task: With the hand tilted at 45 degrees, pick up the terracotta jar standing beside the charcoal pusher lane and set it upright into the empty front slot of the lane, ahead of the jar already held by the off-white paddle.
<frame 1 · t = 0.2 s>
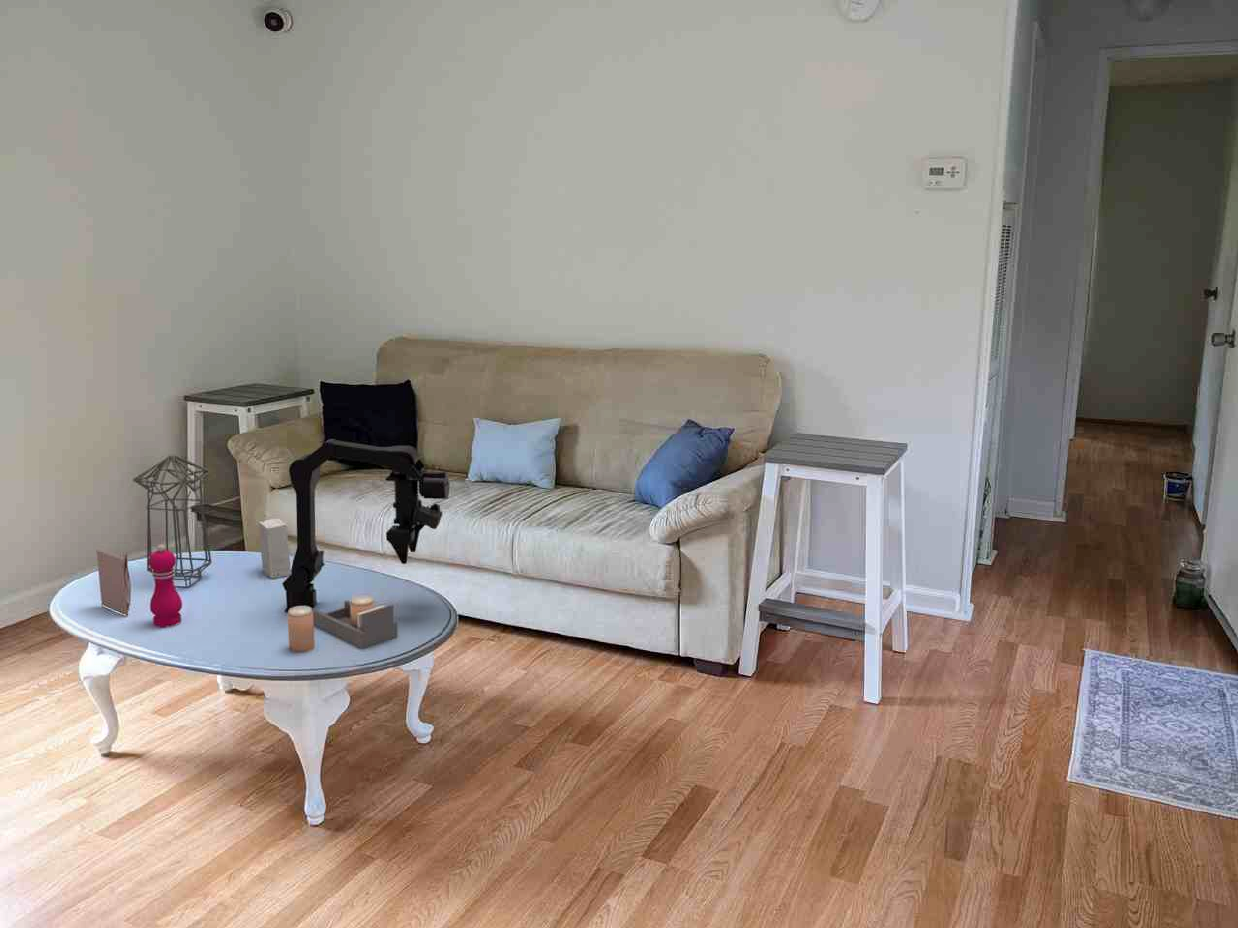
hand: (408, 557, 266), 15 cm above the table, tool pointing down, fingers open, 9 cm apart
skincare box: (276, 574, 295), on the table
brown paper bag: (116, 610, 267), on the table
geometric lantern: (182, 581, 288), on the table
terracotta jar: (302, 650, 246), on the table
pepper mill: (167, 623, 260), on the table
jar in lane: (363, 634, 253), point 1 cm above the table, touching lane
lane: (355, 633, 255), on the table
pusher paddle: (373, 624, 249), point 5 cm above the table, slide at 0.0 cm
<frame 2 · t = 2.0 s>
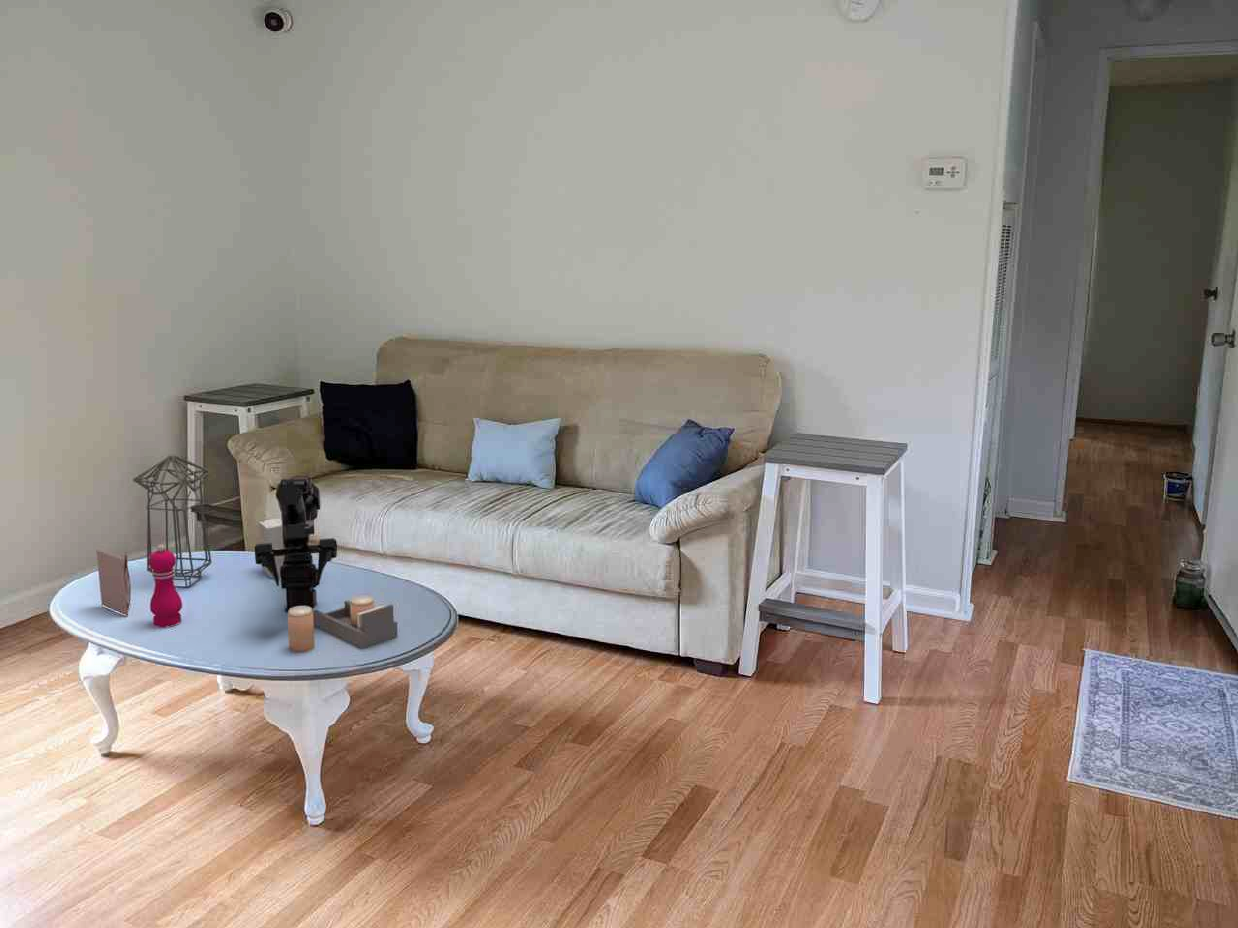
hand: (298, 583, 250), 13 cm above the table, tool tilted 45°, fingers open, 9 cm apart
nothing on the table moved.
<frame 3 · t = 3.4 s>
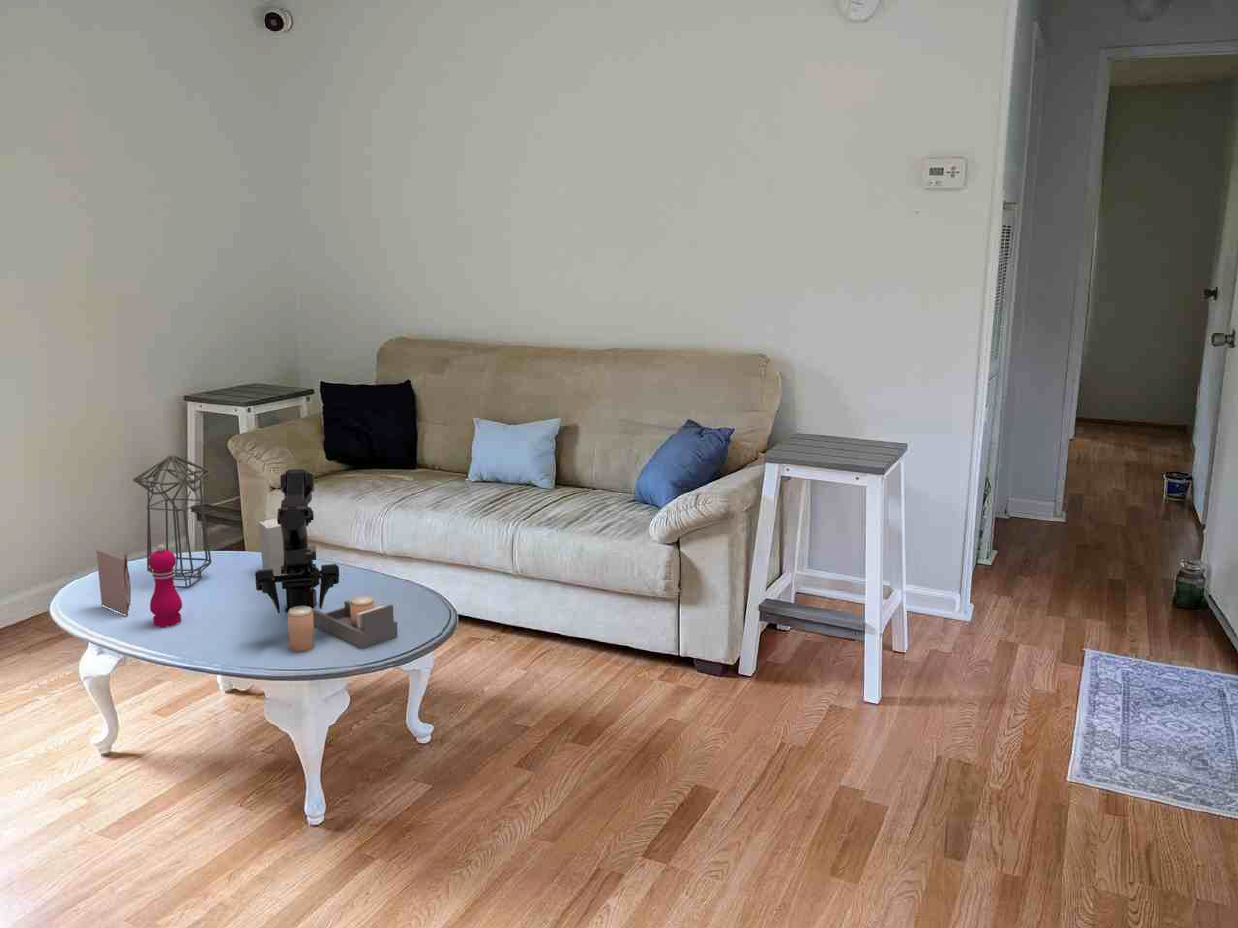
hand: (299, 610, 245), 9 cm above the table, tool tilted 45°, fingers open, 9 cm apart
nothing on the table moved.
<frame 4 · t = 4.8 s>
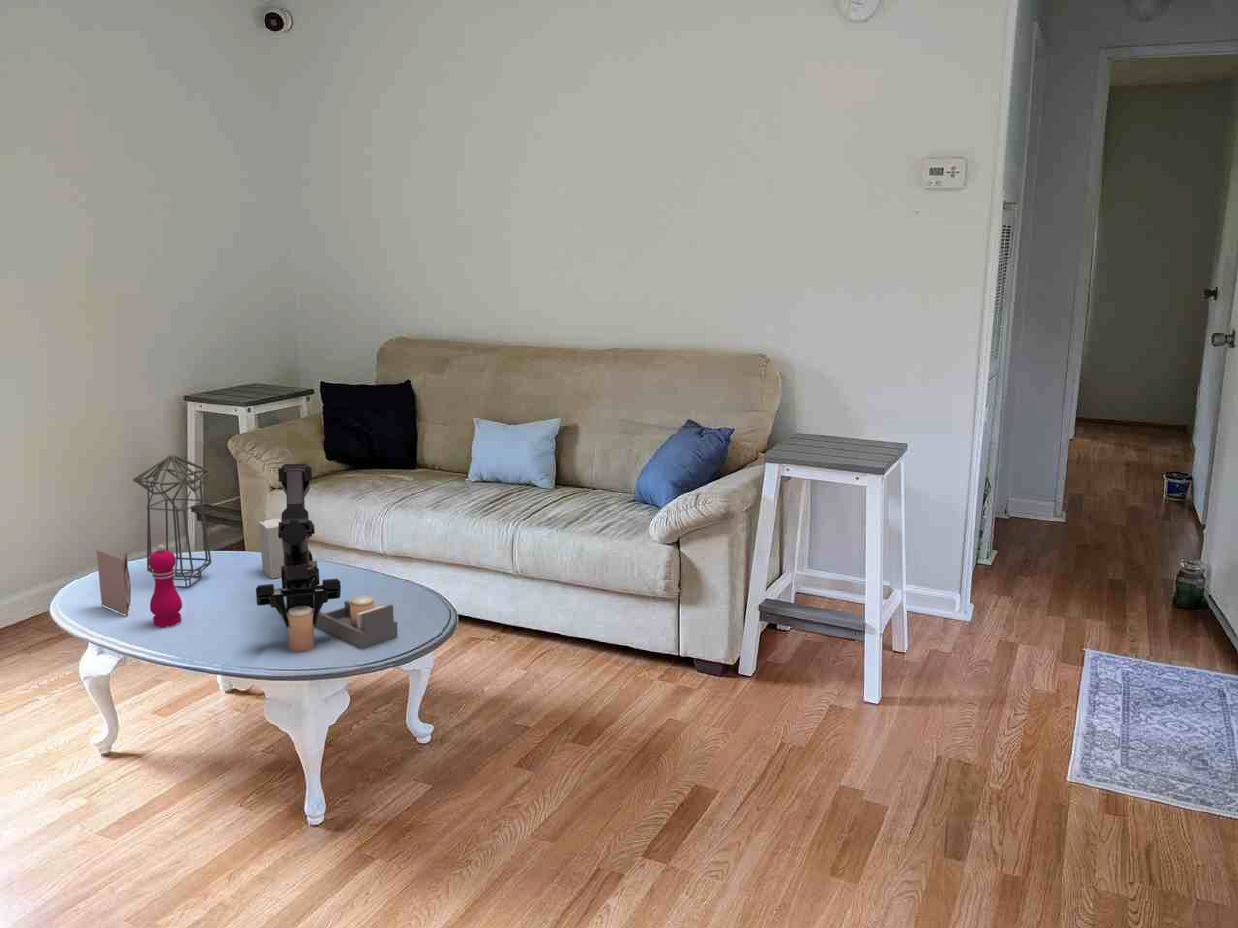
hand: (301, 625, 243), 7 cm above the table, tool tilted 45°, fingers closed on terracotta jar, 6 cm apart
terracotta jar: (302, 650, 246), on the table, touching gripper
everything else where it was.
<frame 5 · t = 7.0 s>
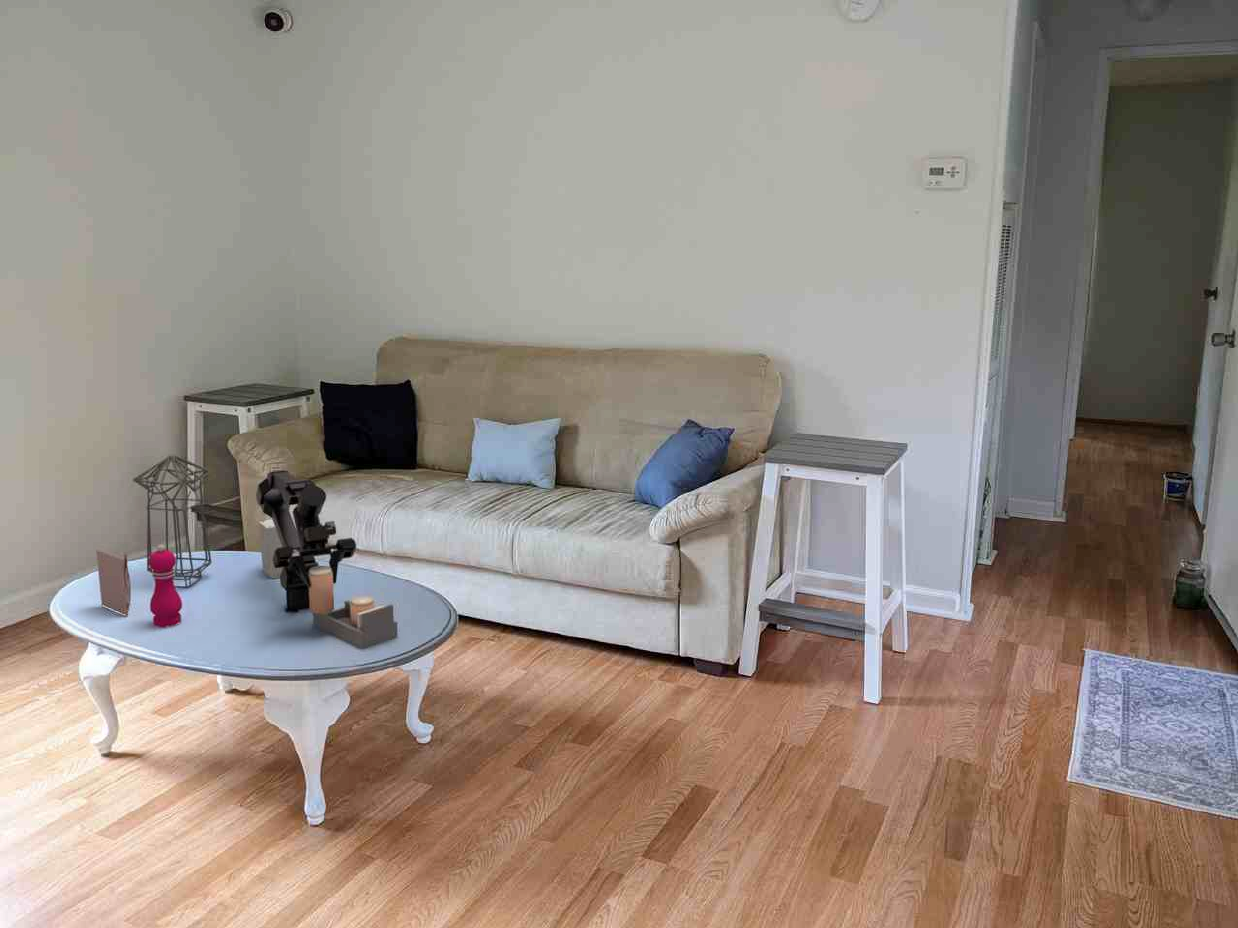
hand: (322, 584, 250), 13 cm above the table, tool tilted 45°, fingers closed on terracotta jar, 6 cm apart
terracotta jar: (321, 608, 252), point 7 cm above the table, touching gripper
everything else where it was.
when the fingers open (9 cm above the table, at t = 9.2 s): terracotta jar drops 1 cm, resting on lane.
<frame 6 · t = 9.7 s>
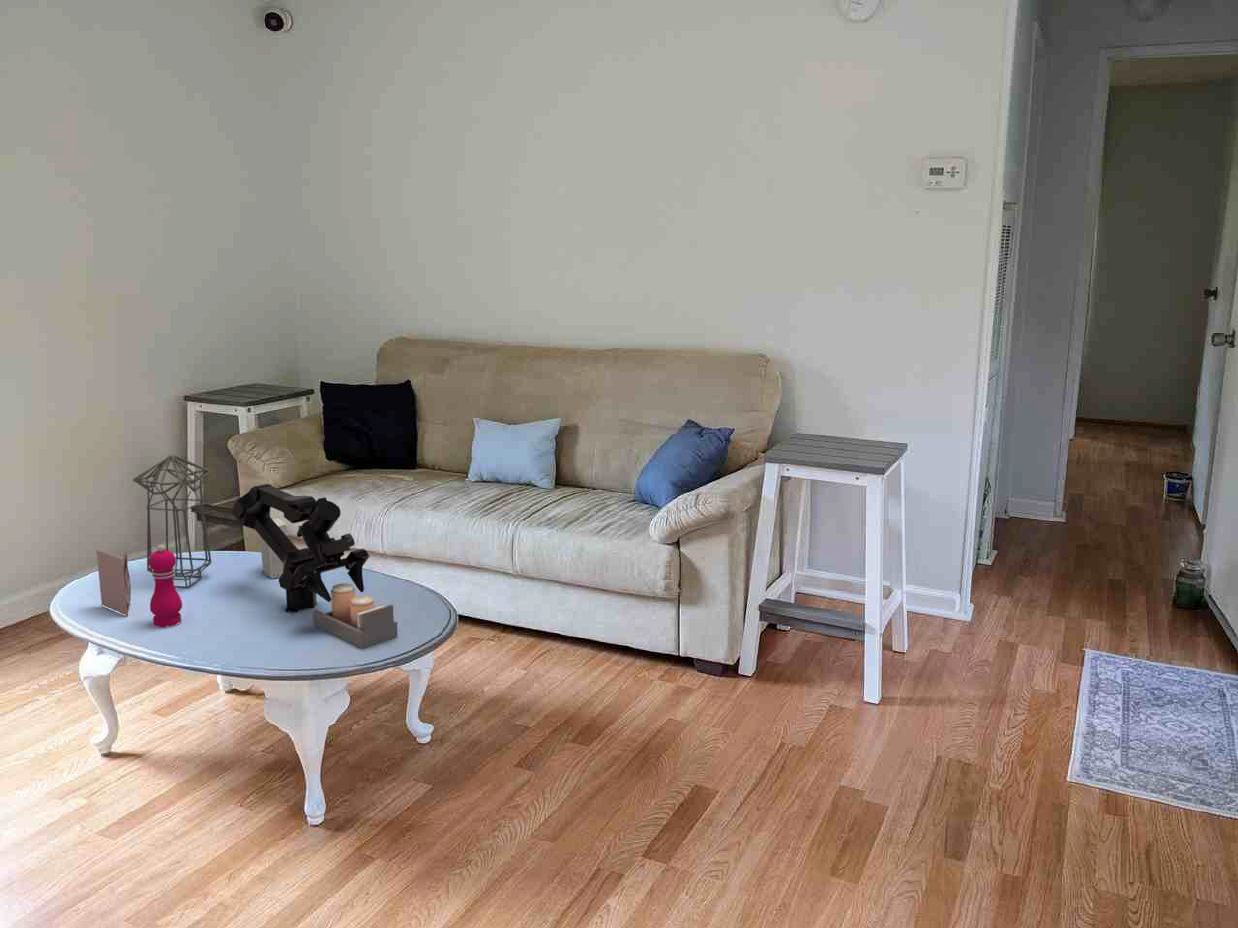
hand: (346, 596, 255), 9 cm above the table, tool tilted 45°, fingers open, 9 cm apart
terracotta jar: (344, 625, 258), point 1 cm above the table, touching lane
everything else where it was.
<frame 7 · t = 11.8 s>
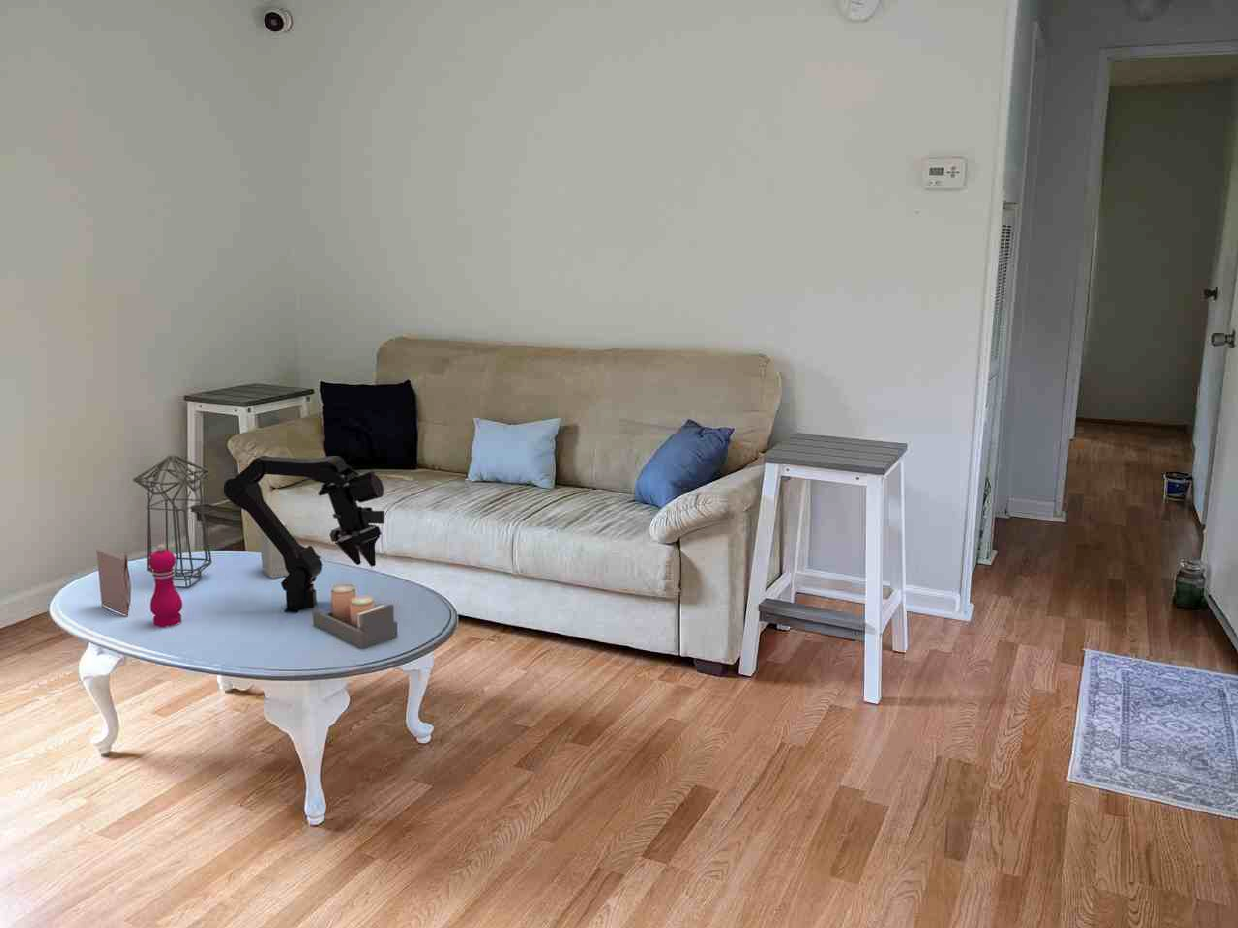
hand: (366, 565, 265), 13 cm above the table, tool tilted 20°, fingers open, 9 cm apart
nothing on the table moved.
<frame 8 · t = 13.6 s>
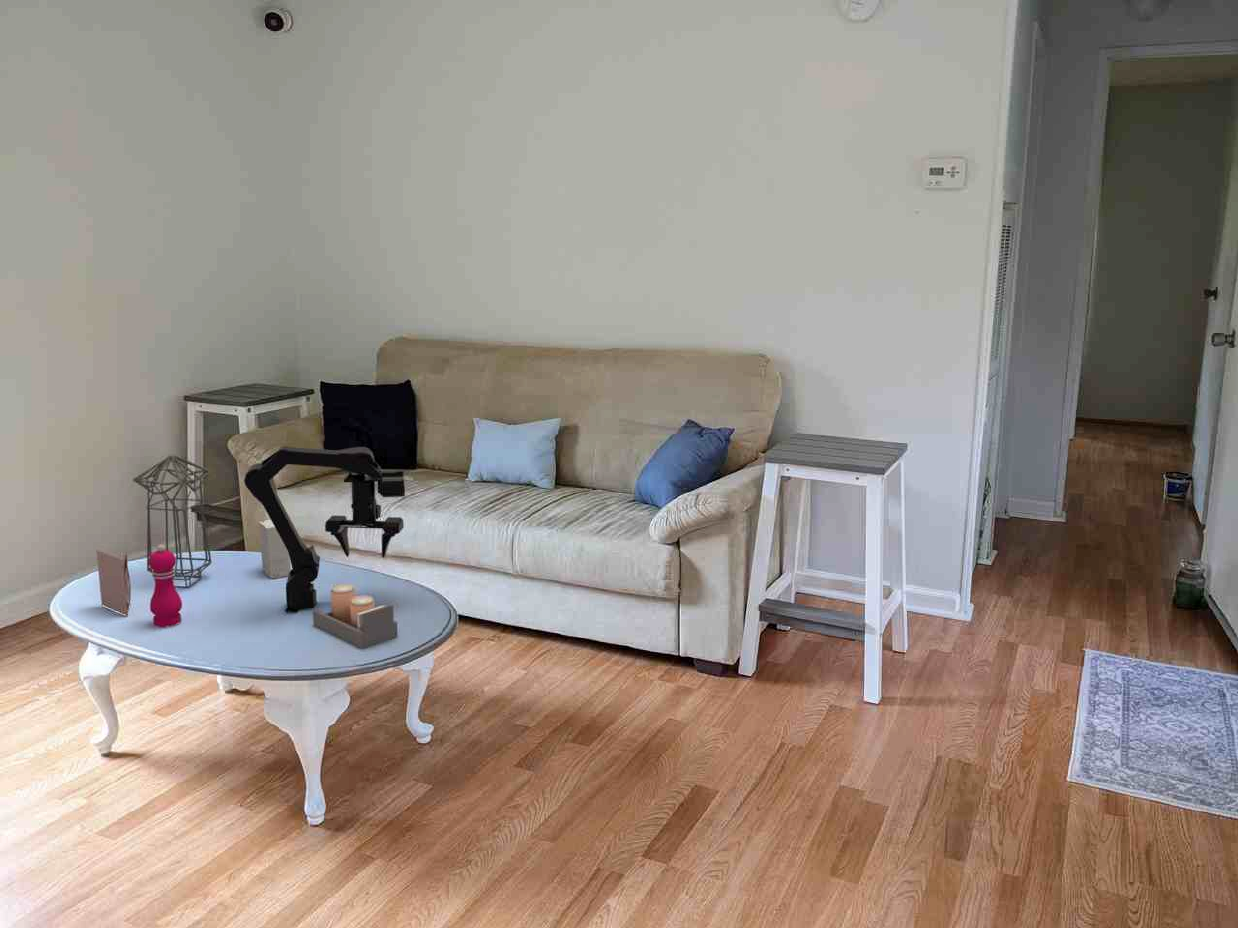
hand: (365, 556, 271), 13 cm above the table, tool pointing down, fingers open, 9 cm apart
nothing on the table moved.
at the end: terracotta jar 0.1 cm from the target spot on the lane, point 0.8 cm above the lane's base; terracotta jar tilted 0°; jar in lane 0.0 cm from the target spot on the lane, point 0.8 cm above the lane's base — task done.
